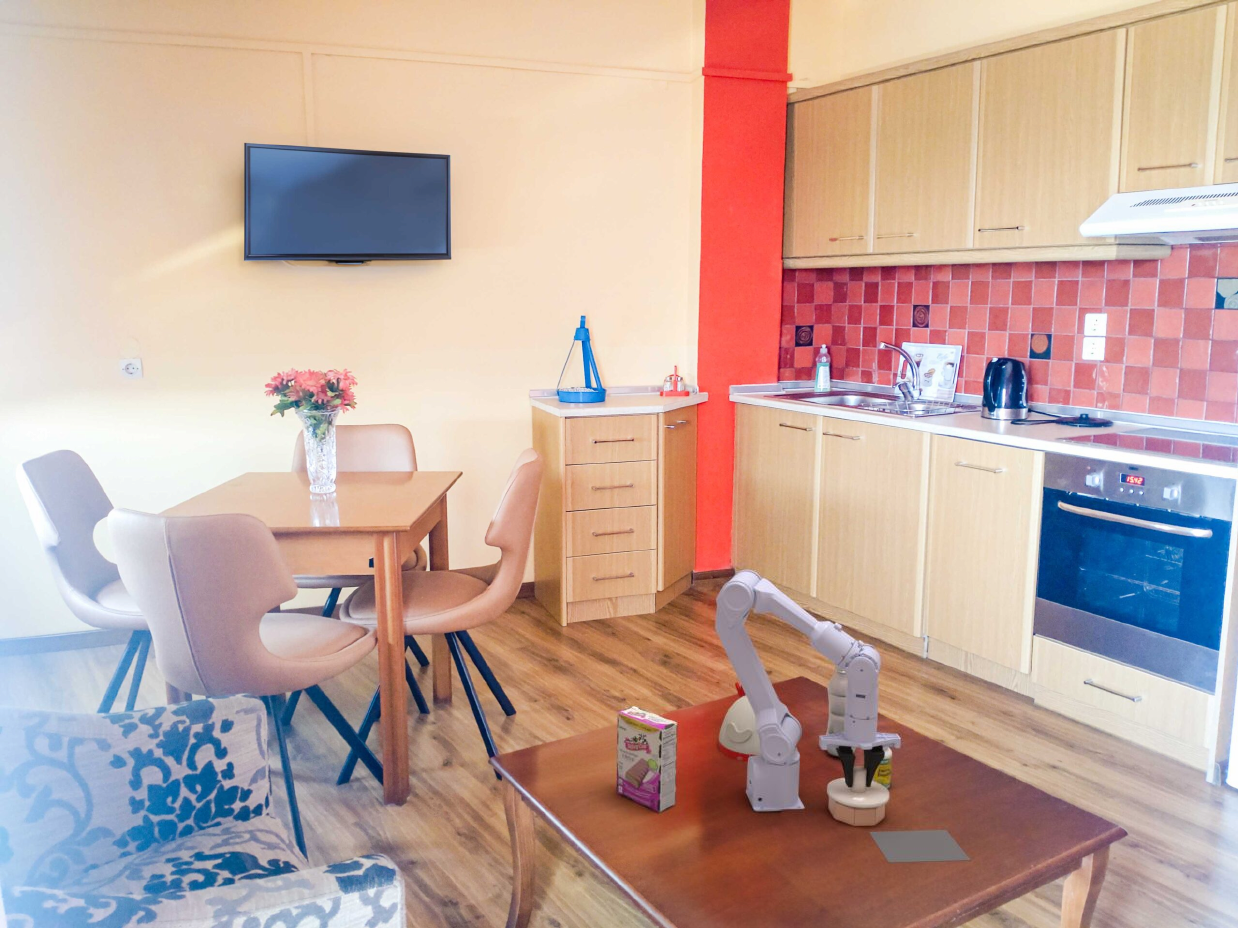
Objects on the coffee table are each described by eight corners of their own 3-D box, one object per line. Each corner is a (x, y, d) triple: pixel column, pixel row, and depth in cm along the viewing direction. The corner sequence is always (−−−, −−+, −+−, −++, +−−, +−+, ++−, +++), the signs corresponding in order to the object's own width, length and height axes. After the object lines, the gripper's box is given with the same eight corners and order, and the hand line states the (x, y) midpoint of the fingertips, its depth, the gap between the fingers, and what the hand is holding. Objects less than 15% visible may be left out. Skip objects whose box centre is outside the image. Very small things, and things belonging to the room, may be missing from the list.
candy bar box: (614, 794, 185) (615, 711, 183) (632, 785, 189) (633, 704, 186) (659, 814, 177) (661, 728, 175) (676, 805, 181) (678, 720, 179)
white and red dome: (738, 729, 216) (740, 664, 214) (795, 745, 208) (798, 678, 206) (706, 750, 205) (708, 682, 203) (765, 768, 197) (767, 697, 195)
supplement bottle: (875, 775, 194) (877, 730, 193) (896, 786, 190) (899, 739, 189) (856, 782, 191) (858, 736, 190) (877, 793, 187) (880, 745, 186)
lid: (841, 809, 171) (841, 783, 170) (818, 783, 182) (818, 758, 181) (899, 805, 173) (900, 779, 172) (873, 779, 184) (874, 755, 183)
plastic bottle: (860, 752, 205) (864, 660, 203) (849, 763, 200) (853, 670, 197) (830, 744, 209) (835, 655, 206) (819, 756, 203) (823, 663, 200)
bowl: (838, 828, 173) (839, 810, 173) (823, 803, 182) (824, 786, 182) (889, 827, 174) (890, 809, 173) (872, 802, 183) (873, 784, 183)
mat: (888, 865, 161) (888, 862, 161) (868, 834, 171) (868, 831, 171) (970, 863, 162) (970, 859, 162) (945, 832, 172) (946, 829, 172)
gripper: (828, 722, 171) (825, 795, 173) (908, 721, 172) (904, 793, 174) (817, 707, 178) (814, 777, 180) (894, 706, 179) (890, 776, 181)
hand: (857, 784), depth 177 cm, fingers closed on lid, 3 cm apart
